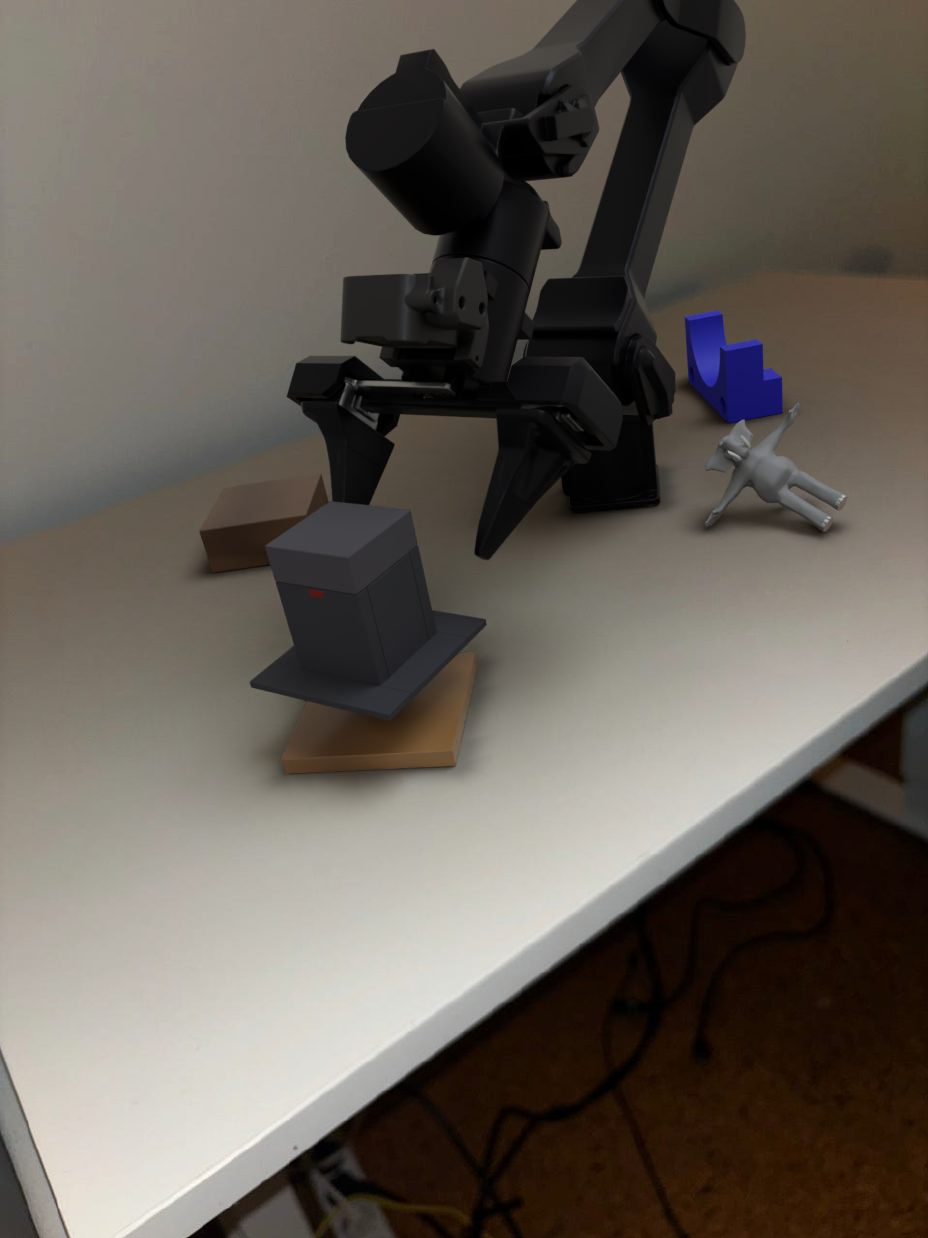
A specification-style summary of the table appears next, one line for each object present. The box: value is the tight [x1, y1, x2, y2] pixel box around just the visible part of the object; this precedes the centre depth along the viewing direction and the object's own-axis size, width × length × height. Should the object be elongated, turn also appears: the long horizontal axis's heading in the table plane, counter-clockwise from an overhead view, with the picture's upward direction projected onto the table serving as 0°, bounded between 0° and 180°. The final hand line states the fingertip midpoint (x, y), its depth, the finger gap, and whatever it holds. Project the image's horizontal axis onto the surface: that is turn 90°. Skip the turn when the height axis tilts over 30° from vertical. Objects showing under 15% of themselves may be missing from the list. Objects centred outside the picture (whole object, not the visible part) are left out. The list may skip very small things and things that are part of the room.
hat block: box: [198, 472, 329, 574], centre depth 78 cm, size 8×8×4 cm
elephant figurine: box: [704, 402, 849, 533], centre depth 67 cm, size 10×6×9 cm
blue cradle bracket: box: [684, 309, 784, 424], centre depth 88 cm, size 12×4×6 cm, turn 5°
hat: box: [249, 500, 488, 721], centre depth 52 cm, size 9×9×8 cm
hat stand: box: [281, 651, 479, 775], centre depth 54 cm, size 9×9×9 cm
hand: (408, 548), depth 55 cm, fingers open, 9 cm apart
